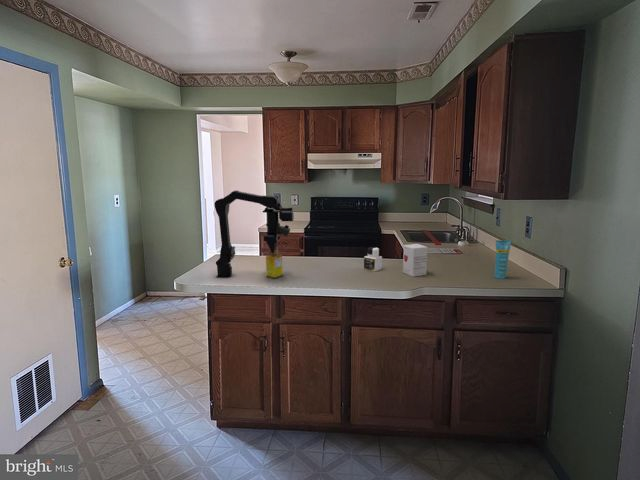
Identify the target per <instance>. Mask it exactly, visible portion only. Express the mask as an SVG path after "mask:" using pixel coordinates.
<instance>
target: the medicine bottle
mask: <svg viewBox="0 0 640 480" xmlns="http://www.w3.org/2000/svg"><path fill="white" fill-rule="evenodd" d="M379 254H380V248H378V247H376V246H370V247H367V255H365V256H363V270H366V271H371V272H377V271H380V270H382V269H383V256H381V255H379Z"/></svg>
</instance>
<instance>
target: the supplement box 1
mask: <svg viewBox="0 0 640 480" xmlns="http://www.w3.org/2000/svg"><path fill="white" fill-rule="evenodd" d="M265 263H266V265H265V267H266V270H265V271H266V277H267V278H270V279H277V278H281V277H283V256H282V255H281V254H277V255H269V254H268V255H266V256H265Z"/></svg>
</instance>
